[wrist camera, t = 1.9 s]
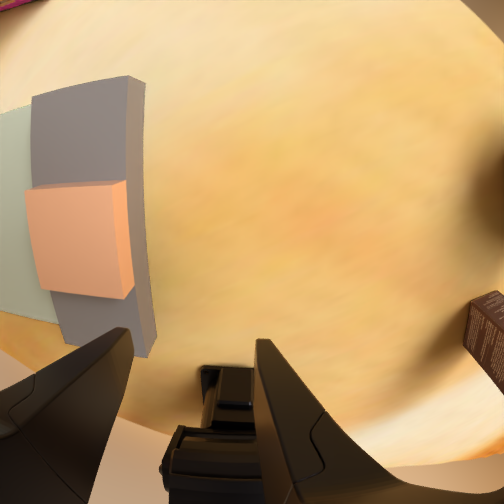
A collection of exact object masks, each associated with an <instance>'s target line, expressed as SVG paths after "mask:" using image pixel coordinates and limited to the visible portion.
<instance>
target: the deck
mask: <svg viewBox="0 0 504 504" xmlns="http://www.w3.org/2000/svg"><path fill="white" fill-rule="evenodd" d="M144 99H145V83H144V82H142V81H140V80H138V79H135V78H133V77H131V76H129V75H128V76H121V77H115V78H109V79H103V80H98V81H93V82H88V83H83V84H79V85H74V86H70V87H66V88H62V89H58V90H54V91H51V92H47V93H43V94H40V95H37V96H33V97H32V104H31V128H30V150H31V175H32V188H34V187H37V186H40V185H46V184H59V183H73V182H90V181H111V180H126V190H127V210H128V225H129V237H130V248H131V258H132V267H133V275H134V283H135V285H134V287H133V288H132V289H131V291H130V292H129V293H128V295H127V296H126V297H125V299H115V298H106V297H97V296H89V295H81V294H73V293H66V292H59V291H52V290H50V294H51V298H52V302H53V305H54V309H55V312H56V316H57V319H58V322H59V326H60V329H61V332H62V335H63V338H64V341H65V343H66V344H71V345H75V346H80V347H82V346H83V345H85V344H87V343H89V342H90V341H92V340H94V339H96V338H98V337H99V336H101V335H103V334H105V333H106V332H108V331H110V330H112V329H113V328H115V327H125V328H128V329H130V332H131V336H132V341H133V345H134V356H136V357H143V358H148V355H149V353H150V351H151V348H152V346H153V344H154V342H155V339H156V337H157V333H156V326H155V319H154V312H153V304H152V296H151V287H150V278H149V268H148V258H147V245H146V231H145V214H144V189H143V123H144Z"/></svg>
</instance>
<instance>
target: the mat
mask: <svg viewBox="0 0 504 504" xmlns="http://www.w3.org/2000/svg"><path fill="white" fill-rule="evenodd" d="M30 128H31V104H30V105H27V106H24V107H21V108H18V109H14V110H11V111H8V112H6V113H3V114H0V311H4V312H8V313H12V314H16V315H20V316H24V317H28V318H33V319H37V320H41V321H46V322H51V323H55V324H59V322H58V319H57V316H56V312H55V309H54V305H53V302H52V298H51V294H50V290H45V289H41V286H40V282H39V278H38V274H37V269H36V265H35V260H34V255H33V250H32V245H31V239H30V233H29V226H28V220H27V212H26V204H25V194H24V191H25V190H28V189H31V188H32V175H31V150H30Z"/></svg>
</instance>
